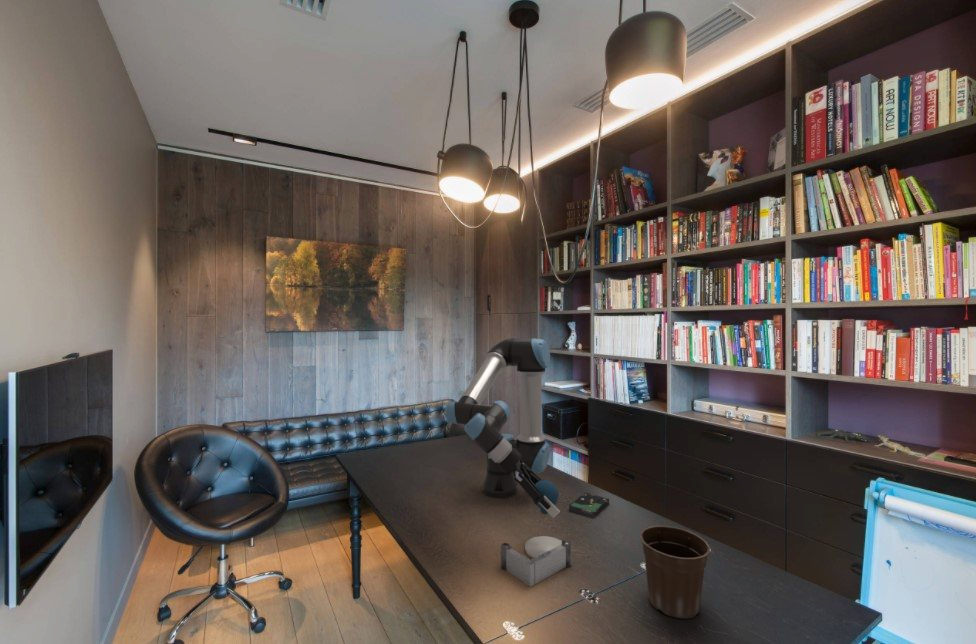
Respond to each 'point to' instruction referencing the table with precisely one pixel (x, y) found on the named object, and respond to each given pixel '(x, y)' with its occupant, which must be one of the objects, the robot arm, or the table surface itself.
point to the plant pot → (674, 569)
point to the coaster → (540, 545)
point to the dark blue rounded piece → (547, 494)
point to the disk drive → (589, 505)
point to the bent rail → (535, 563)
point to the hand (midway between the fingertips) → (555, 508)
